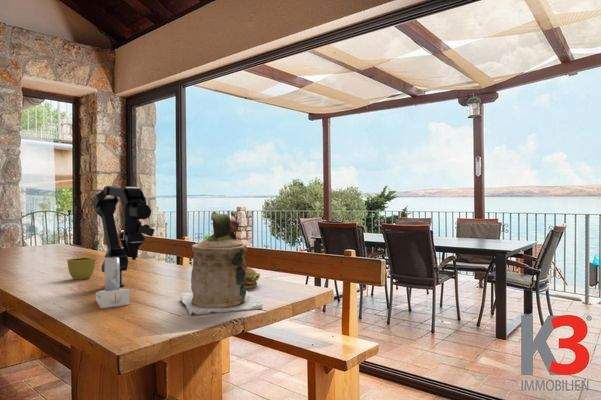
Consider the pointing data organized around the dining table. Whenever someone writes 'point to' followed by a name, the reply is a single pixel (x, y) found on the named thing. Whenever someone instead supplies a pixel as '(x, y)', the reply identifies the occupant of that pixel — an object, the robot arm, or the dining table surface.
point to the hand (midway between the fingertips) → (131, 258)
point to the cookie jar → (219, 272)
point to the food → (251, 278)
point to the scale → (113, 298)
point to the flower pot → (81, 267)
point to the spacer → (112, 273)
